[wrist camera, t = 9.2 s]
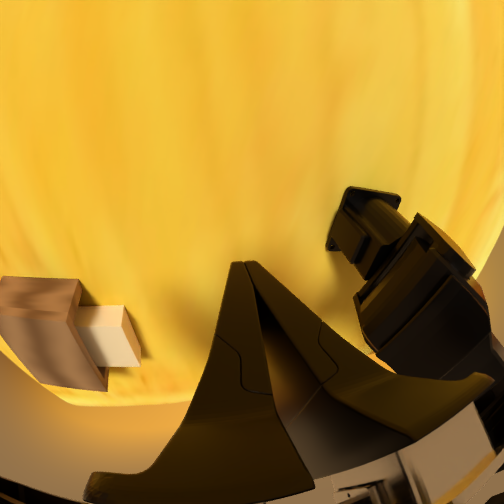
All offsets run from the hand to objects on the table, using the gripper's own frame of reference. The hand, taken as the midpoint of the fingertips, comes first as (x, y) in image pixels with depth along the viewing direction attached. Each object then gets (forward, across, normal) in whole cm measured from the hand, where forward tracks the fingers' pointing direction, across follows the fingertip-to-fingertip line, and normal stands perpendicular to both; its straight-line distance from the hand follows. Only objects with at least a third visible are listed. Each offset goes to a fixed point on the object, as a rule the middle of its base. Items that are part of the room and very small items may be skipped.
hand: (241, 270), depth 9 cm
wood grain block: (+11, +18, +17) cm, 27 cm away
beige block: (+12, +14, +18) cm, 25 cm away
